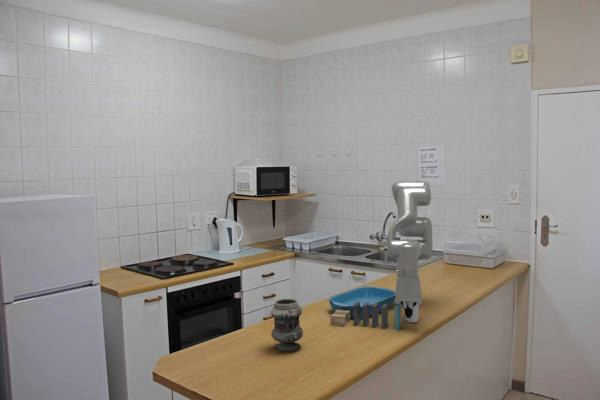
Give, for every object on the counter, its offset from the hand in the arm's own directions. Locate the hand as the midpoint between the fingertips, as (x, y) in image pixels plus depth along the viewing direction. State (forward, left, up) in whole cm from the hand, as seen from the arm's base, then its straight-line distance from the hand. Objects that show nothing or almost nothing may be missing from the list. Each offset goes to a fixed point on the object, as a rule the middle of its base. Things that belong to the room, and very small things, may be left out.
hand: (408, 317), depth 203 cm
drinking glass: (-11, 0, -5) cm, 12 cm away
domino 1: (0, -22, -5) cm, 23 cm away
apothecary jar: (+35, -39, -5) cm, 53 cm away
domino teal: (0, -4, -5) cm, 7 cm away
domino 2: (0, -18, -5) cm, 19 cm away
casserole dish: (-22, -25, -6) cm, 34 cm away
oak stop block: (0, -29, -5) cm, 30 cm away
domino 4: (0, -10, -5) cm, 11 cm away
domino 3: (0, -14, -5) cm, 15 cm away
